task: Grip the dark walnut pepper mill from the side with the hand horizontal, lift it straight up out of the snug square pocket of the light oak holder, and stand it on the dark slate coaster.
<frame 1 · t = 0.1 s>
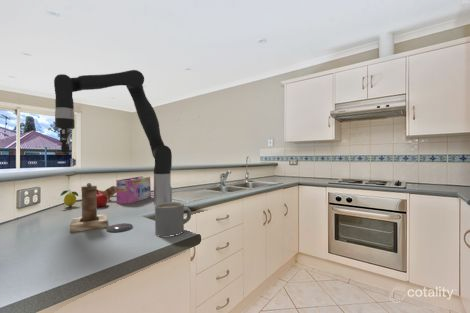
hand: (65, 152, 113), 29 cm above the countertop, tool pointing down, fingers open, 8 cm apart
lemon: (69, 207, 129), on the countertop
lion figurine: (104, 201, 145), on the countertop
coaster: (119, 228, 91), on the countertop
pepper mill: (89, 204, 95), in the holder
pomegranate: (97, 206, 130), on the countertop
holder: (89, 225, 95), on the countertop
gum box: (134, 200, 147), on the countertop
coffee mug: (174, 232, 87), on the countertop
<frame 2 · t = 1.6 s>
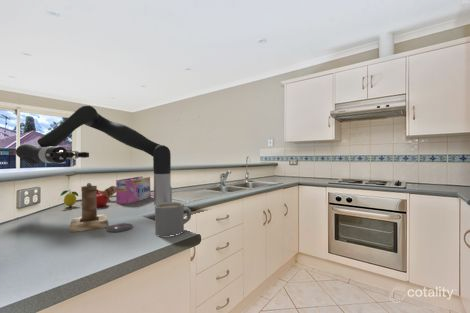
hand: (79, 154, 103), 28 cm above the countertop, tool horizontal, fingers open, 8 cm apart
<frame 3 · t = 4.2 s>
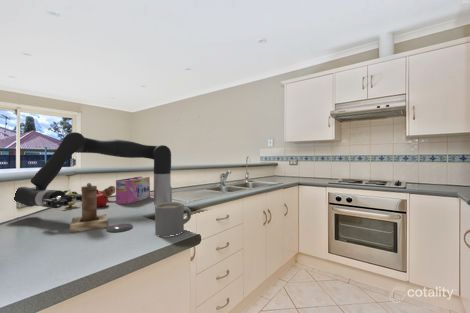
hand: (77, 200, 97), 9 cm above the countertop, tool horizontal, fingers open, 8 cm apart
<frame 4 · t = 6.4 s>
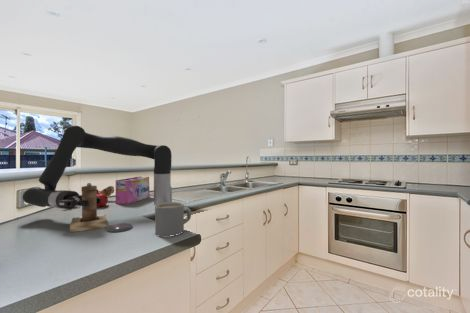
hand: (94, 202, 94), 10 cm above the countertop, tool horizontal, fingers closed on pepper mill, 5 cm apart
pepper mill: (89, 204, 95), in the holder, touching gripper
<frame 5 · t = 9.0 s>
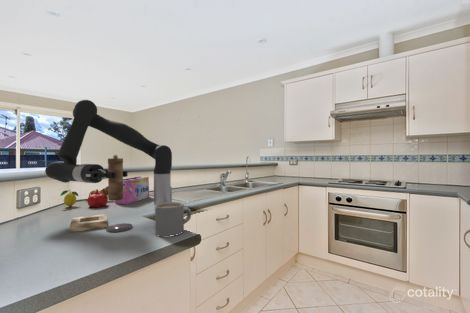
hand: (121, 174, 90), 21 cm above the countertop, tool horizontal, fingers closed on pepper mill, 5 cm apart
pepper mill: (115, 177, 91), point 20 cm above the countertop, touching gripper
when the fingers open (11 cm above the countertop, at t = 11.5 s): pepper mill stays where it is, resting on coaster.
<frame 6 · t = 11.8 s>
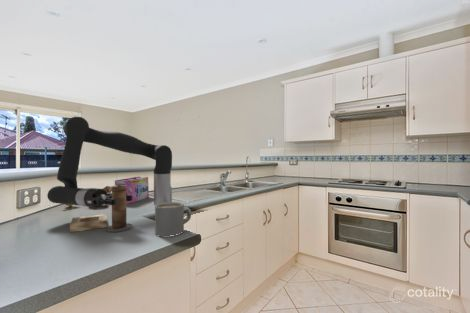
hand: (123, 200, 90), 11 cm above the countertop, tool horizontal, fingers open, 7 cm apart
pepper mill: (119, 204, 91), on the coaster, point 9 cm above the countertop
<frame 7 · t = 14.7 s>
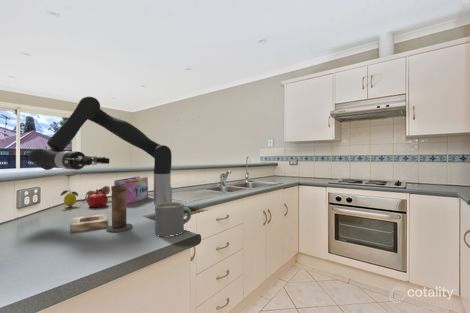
hand: (99, 161, 94), 25 cm above the countertop, tool horizontal, fingers open, 8 cm apart
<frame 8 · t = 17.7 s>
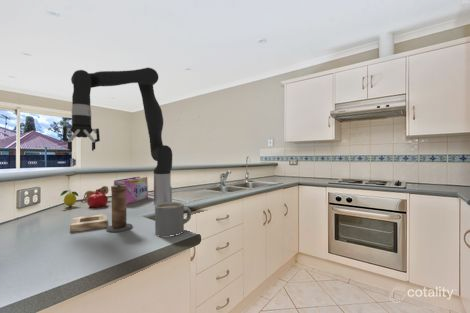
hand: (82, 150, 110), 30 cm above the countertop, tool pointing down, fingers open, 8 cm apart
at the end: pepper mill 0.1 cm from the coaster (horizontally); pepper mill tilted 0°; pepper mill point 9.1 cm above the countertop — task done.
